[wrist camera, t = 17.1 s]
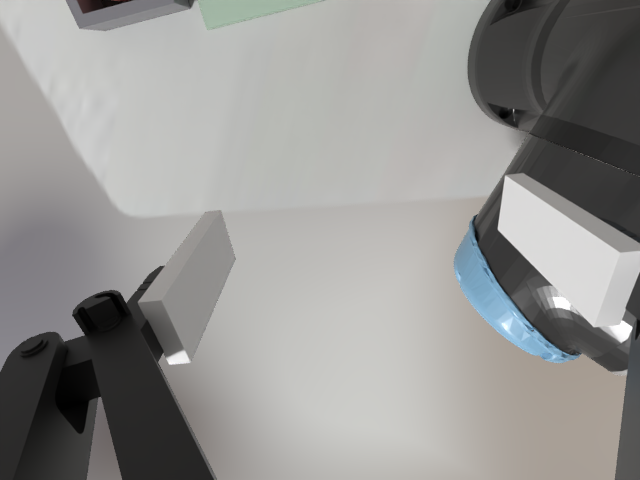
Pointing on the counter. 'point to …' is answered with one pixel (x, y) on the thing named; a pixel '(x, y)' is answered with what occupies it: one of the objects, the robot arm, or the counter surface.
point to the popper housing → (121, 12)
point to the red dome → (123, 1)
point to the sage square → (243, 10)
